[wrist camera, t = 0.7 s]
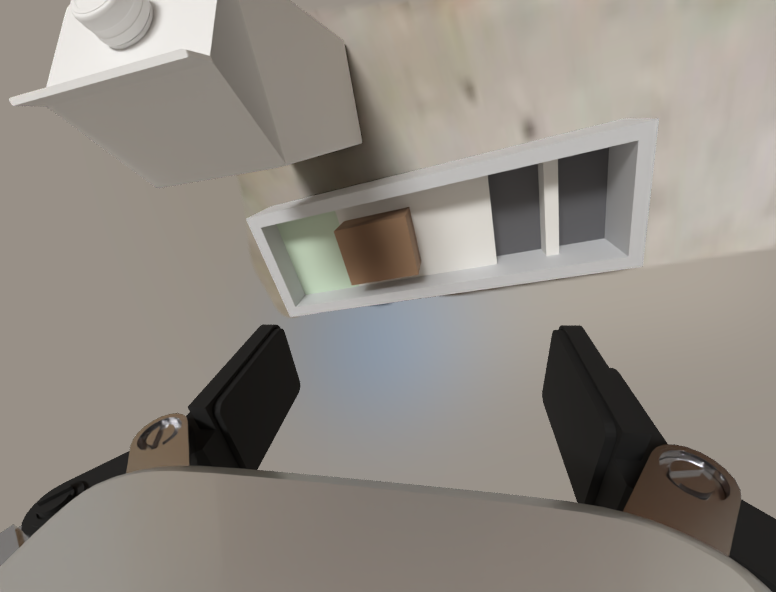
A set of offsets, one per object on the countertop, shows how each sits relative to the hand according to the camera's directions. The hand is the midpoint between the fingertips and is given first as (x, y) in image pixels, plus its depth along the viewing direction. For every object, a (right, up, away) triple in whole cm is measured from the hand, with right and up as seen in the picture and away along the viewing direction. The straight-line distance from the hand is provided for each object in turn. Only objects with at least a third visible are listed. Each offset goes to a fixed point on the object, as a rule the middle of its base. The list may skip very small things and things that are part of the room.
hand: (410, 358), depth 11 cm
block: (-1, +7, +18) cm, 19 cm away
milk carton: (-7, +18, +15) cm, 25 cm away
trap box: (+3, +9, +18) cm, 20 cm away
